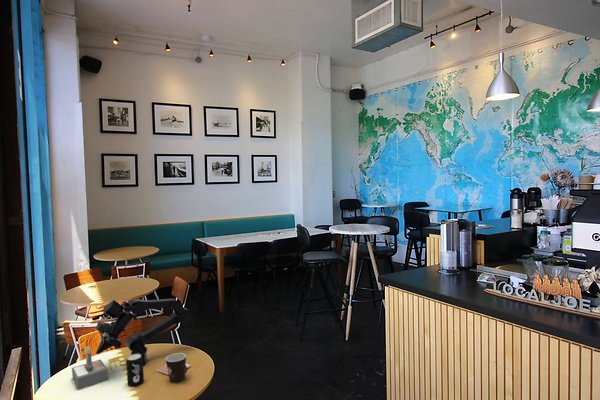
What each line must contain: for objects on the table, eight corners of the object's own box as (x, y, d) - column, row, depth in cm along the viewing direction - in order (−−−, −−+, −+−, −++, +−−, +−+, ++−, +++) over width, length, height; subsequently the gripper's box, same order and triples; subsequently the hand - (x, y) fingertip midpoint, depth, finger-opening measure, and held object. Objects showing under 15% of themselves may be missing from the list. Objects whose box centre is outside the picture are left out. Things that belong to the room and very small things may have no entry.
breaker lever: (90, 364, 185) (89, 345, 184) (93, 368, 180) (91, 349, 180) (85, 366, 183) (84, 347, 183) (88, 370, 179) (86, 350, 178)
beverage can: (128, 388, 173) (126, 361, 172) (127, 382, 178) (125, 355, 178) (144, 384, 176) (143, 357, 175) (143, 378, 181) (141, 352, 181)
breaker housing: (101, 369, 191) (100, 359, 191) (108, 380, 181) (107, 368, 180) (72, 378, 184) (71, 367, 183) (78, 389, 173) (77, 378, 173)
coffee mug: (166, 377, 181) (164, 355, 181) (186, 372, 185) (184, 351, 184) (168, 389, 171) (167, 366, 170) (189, 384, 174) (188, 362, 173)
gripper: (102, 309, 193) (77, 338, 187) (112, 319, 178) (86, 351, 172) (120, 321, 198) (97, 350, 192) (131, 332, 184) (107, 363, 178)
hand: (96, 353), depth 184 cm, fingers closed
